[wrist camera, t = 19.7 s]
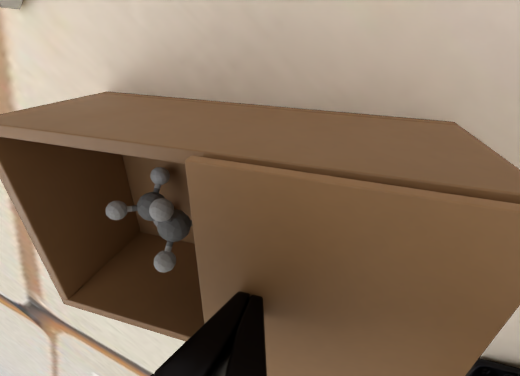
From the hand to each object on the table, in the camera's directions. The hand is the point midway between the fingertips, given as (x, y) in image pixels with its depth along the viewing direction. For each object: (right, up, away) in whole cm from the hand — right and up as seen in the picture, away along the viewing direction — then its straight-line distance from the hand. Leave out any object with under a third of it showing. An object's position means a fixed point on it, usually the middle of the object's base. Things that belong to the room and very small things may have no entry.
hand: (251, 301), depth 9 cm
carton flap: (+2, 0, 0) cm, 2 cm away
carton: (0, +4, +7) cm, 7 cm away
